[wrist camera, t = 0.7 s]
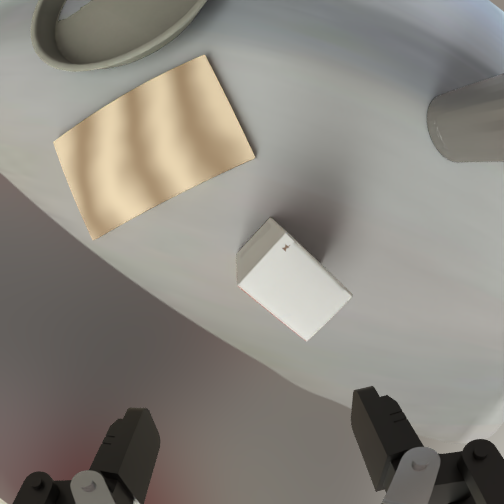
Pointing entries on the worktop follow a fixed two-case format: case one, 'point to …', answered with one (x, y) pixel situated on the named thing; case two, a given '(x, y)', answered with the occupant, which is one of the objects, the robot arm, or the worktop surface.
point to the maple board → (151, 146)
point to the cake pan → (107, 31)
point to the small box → (289, 280)
